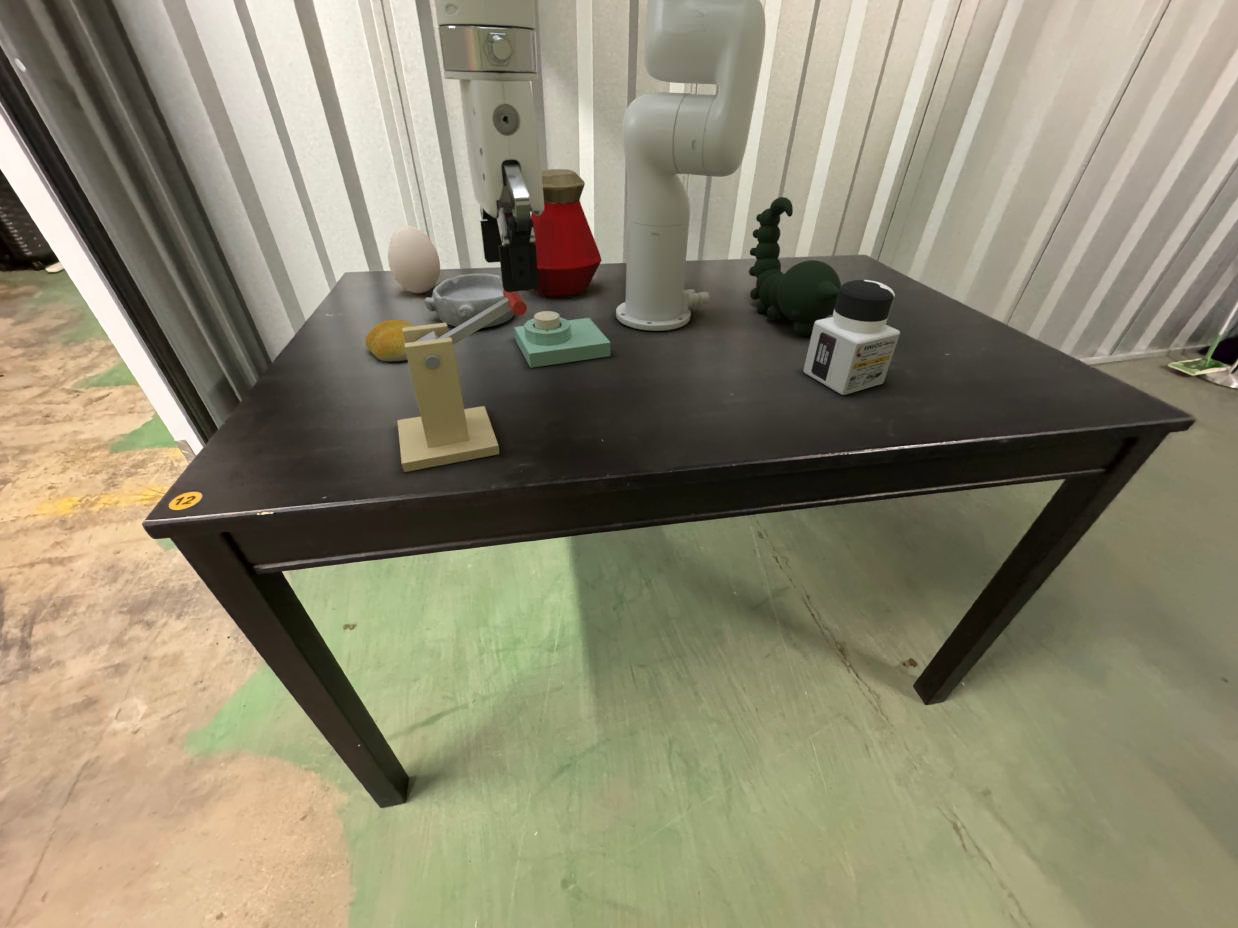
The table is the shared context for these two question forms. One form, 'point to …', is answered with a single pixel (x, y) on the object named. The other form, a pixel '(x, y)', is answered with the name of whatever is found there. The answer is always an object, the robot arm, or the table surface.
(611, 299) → the table surface
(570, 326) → the button panel
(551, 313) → the button
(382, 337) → the bread roll
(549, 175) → the bottle
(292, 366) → the table surface
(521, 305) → the lever
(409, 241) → the egg
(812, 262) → the segmented green worm
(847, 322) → the container
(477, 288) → the dish
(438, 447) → the bracket
